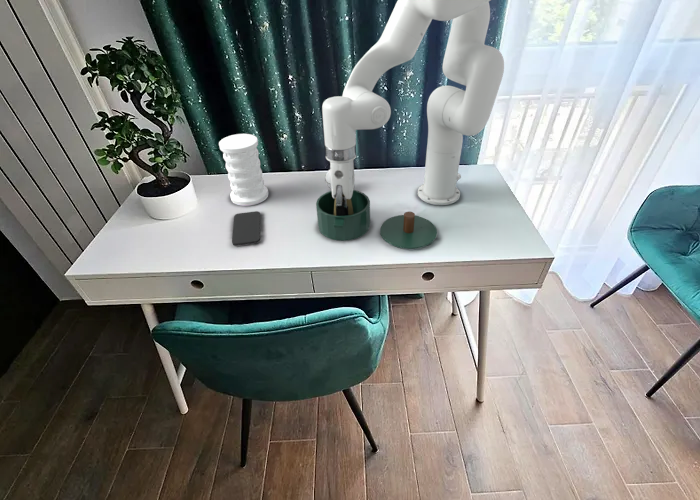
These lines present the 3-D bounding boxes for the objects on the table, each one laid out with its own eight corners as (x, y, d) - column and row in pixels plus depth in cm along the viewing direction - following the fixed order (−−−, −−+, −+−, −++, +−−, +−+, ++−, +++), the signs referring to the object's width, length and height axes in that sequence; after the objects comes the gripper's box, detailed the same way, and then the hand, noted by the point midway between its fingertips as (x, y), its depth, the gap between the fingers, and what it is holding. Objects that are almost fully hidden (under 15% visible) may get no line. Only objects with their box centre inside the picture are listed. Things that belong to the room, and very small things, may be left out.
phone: (260, 210, 117) (260, 240, 105) (260, 213, 117) (260, 243, 106) (234, 213, 116) (231, 244, 104) (234, 216, 117) (232, 246, 105)
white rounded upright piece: (324, 184, 130) (323, 163, 125) (347, 182, 130) (346, 161, 126) (327, 200, 122) (325, 178, 117) (351, 198, 123) (350, 176, 118)
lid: (435, 218, 112) (437, 200, 109) (438, 252, 101) (440, 232, 97) (381, 216, 114) (381, 198, 110) (378, 249, 102) (378, 230, 98)
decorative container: (223, 199, 124) (208, 144, 113) (249, 183, 132) (238, 130, 121) (250, 209, 119) (237, 153, 108) (276, 192, 127) (267, 138, 116)
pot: (372, 207, 118) (372, 184, 113) (366, 248, 103) (366, 224, 98) (324, 205, 120) (322, 183, 115) (312, 245, 104) (309, 222, 100)
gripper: (352, 167, 91) (354, 232, 102) (359, 137, 104) (360, 198, 115) (319, 166, 91) (325, 231, 103) (330, 137, 105) (334, 197, 116)
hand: (343, 213), depth 109 cm, fingers closed on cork, 4 cm apart
